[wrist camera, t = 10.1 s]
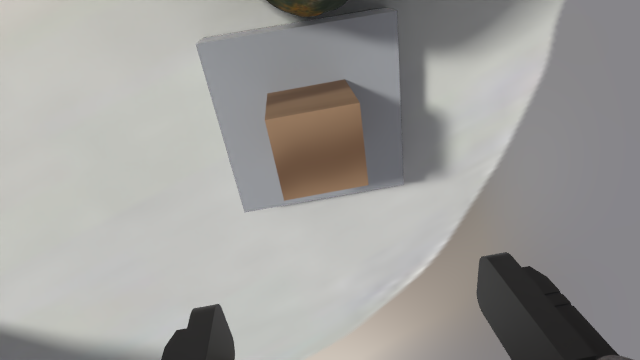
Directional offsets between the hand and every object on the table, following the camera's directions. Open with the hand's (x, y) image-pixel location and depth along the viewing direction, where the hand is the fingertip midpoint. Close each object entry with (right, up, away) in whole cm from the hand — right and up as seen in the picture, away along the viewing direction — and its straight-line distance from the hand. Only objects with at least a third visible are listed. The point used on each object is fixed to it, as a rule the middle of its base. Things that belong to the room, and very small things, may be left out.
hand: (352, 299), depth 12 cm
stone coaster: (-2, +9, +16) cm, 18 cm away
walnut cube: (-1, +8, +13) cm, 16 cm away
